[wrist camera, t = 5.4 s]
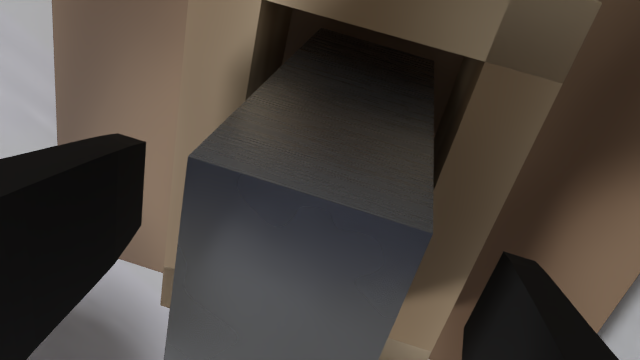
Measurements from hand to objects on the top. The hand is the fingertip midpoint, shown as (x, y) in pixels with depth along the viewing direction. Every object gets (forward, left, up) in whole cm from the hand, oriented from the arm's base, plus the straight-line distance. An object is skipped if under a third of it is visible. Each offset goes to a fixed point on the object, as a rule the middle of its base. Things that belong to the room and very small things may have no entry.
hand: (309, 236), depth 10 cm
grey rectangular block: (0, 0, -5) cm, 5 cm away
